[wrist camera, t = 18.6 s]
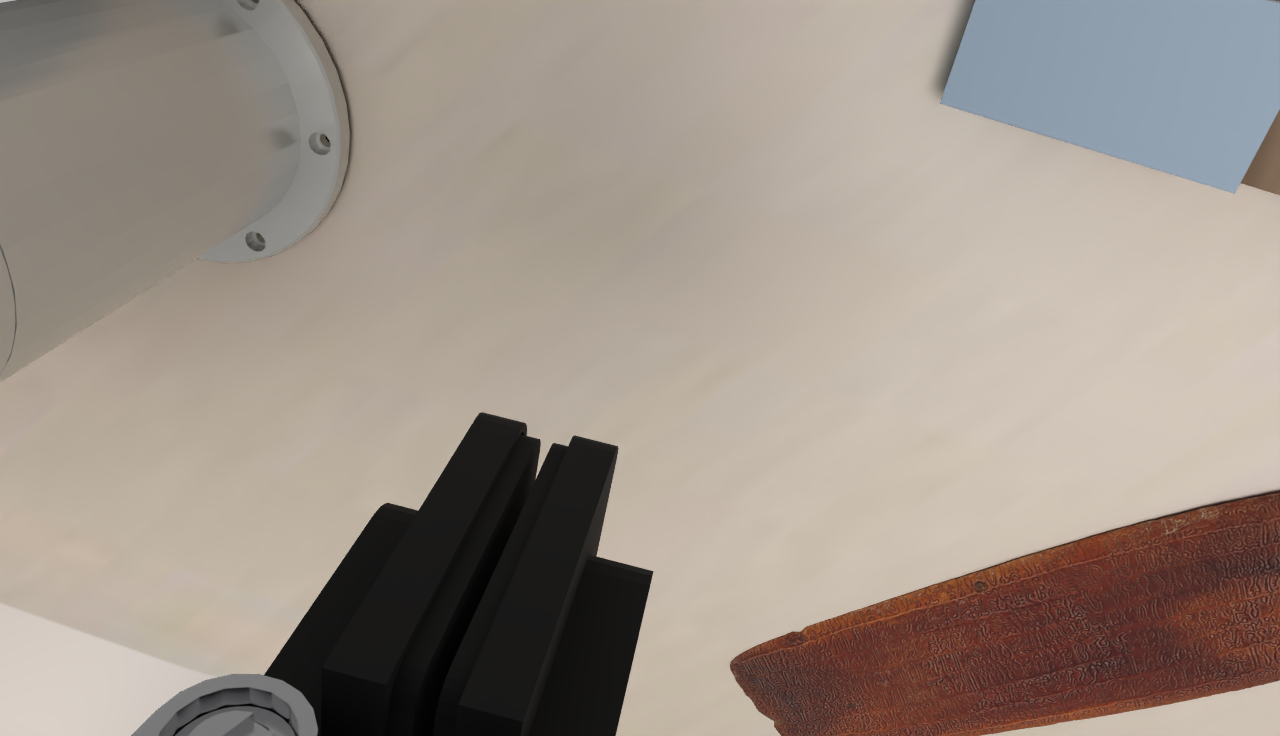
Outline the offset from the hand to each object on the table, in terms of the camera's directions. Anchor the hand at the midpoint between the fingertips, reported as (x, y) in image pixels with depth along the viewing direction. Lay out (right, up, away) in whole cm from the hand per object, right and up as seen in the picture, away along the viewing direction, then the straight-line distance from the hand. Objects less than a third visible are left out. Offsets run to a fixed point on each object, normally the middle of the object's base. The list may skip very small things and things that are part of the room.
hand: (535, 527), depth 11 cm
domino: (+12, +13, +19) cm, 26 cm away
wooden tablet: (+19, -11, +32) cm, 39 cm away
